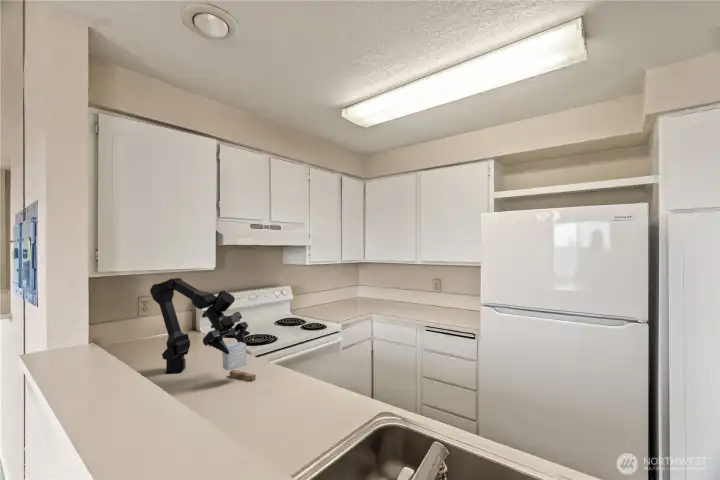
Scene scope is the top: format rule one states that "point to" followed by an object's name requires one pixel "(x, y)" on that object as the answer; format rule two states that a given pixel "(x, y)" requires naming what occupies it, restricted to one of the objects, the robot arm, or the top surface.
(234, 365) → the medicine box
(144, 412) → the top surface
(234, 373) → the walnut tipping strip
